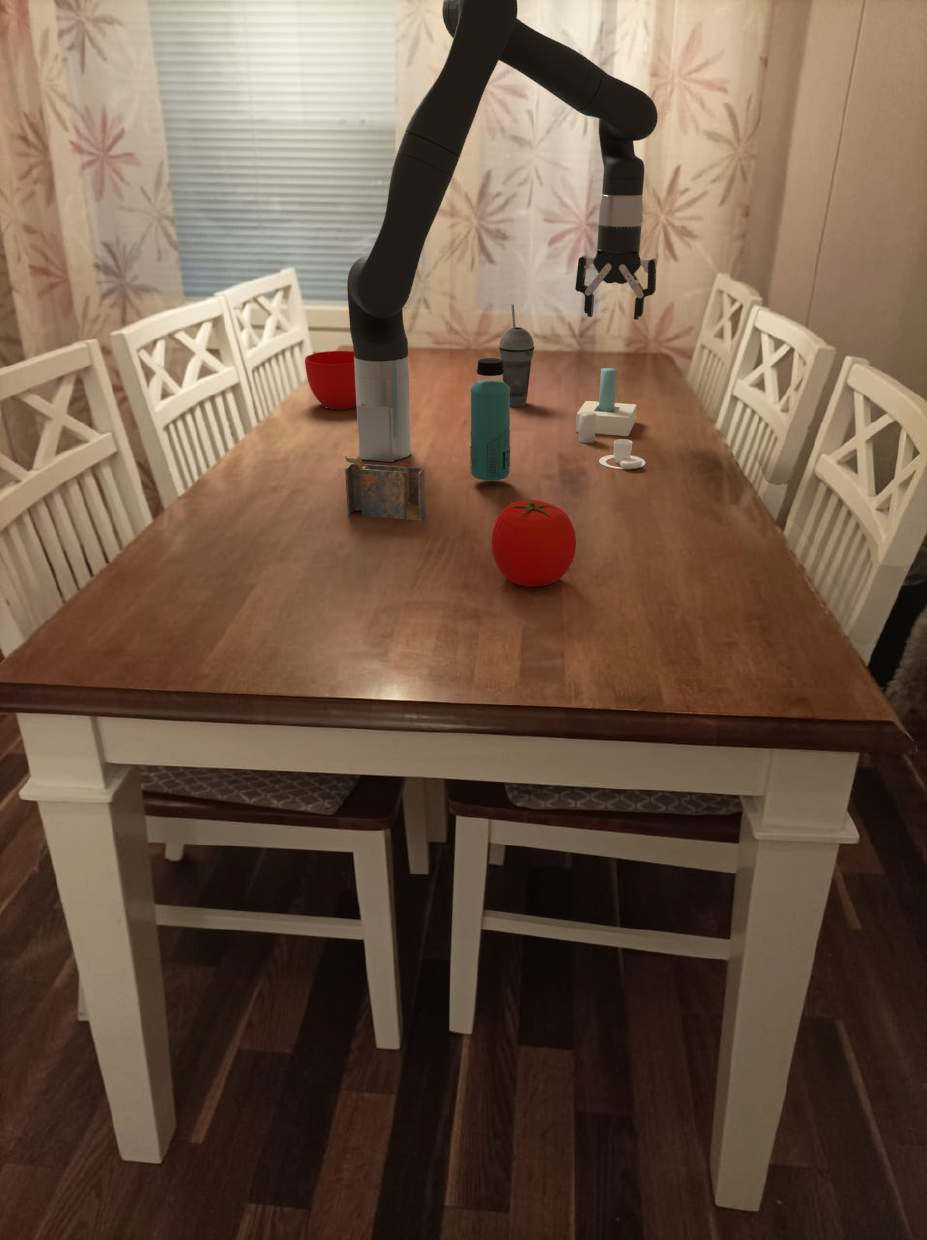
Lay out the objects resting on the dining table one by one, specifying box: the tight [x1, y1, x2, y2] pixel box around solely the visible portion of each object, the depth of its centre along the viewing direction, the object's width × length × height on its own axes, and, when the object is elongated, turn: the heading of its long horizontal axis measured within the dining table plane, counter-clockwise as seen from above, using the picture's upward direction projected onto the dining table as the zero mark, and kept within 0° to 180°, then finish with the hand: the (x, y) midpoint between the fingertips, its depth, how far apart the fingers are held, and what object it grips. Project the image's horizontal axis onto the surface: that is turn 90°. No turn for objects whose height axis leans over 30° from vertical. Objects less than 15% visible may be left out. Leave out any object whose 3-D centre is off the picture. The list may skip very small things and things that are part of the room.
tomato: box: [491, 499, 577, 588], centre depth 121 cm, size 10×11×11 cm
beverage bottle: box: [469, 357, 512, 482], centre depth 152 cm, size 6×7×20 cm
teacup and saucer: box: [598, 438, 646, 470], centre depth 165 cm, size 9×8×4 cm
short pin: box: [578, 412, 596, 444], centre depth 177 cm, size 3×3×5 cm
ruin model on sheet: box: [344, 455, 426, 522], centre depth 142 cm, size 11×3×10 cm, turn 78°
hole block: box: [575, 400, 637, 437], centre depth 185 cm, size 10×10×4 cm
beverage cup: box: [498, 304, 535, 408], centre depth 197 cm, size 7×7×20 cm
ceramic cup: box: [304, 350, 357, 411], centre depth 198 cm, size 13×17×10 cm
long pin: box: [598, 367, 618, 413], centre depth 183 cm, size 3×3×11 cm
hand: (613, 317), depth 177 cm, fingers open, 8 cm apart
